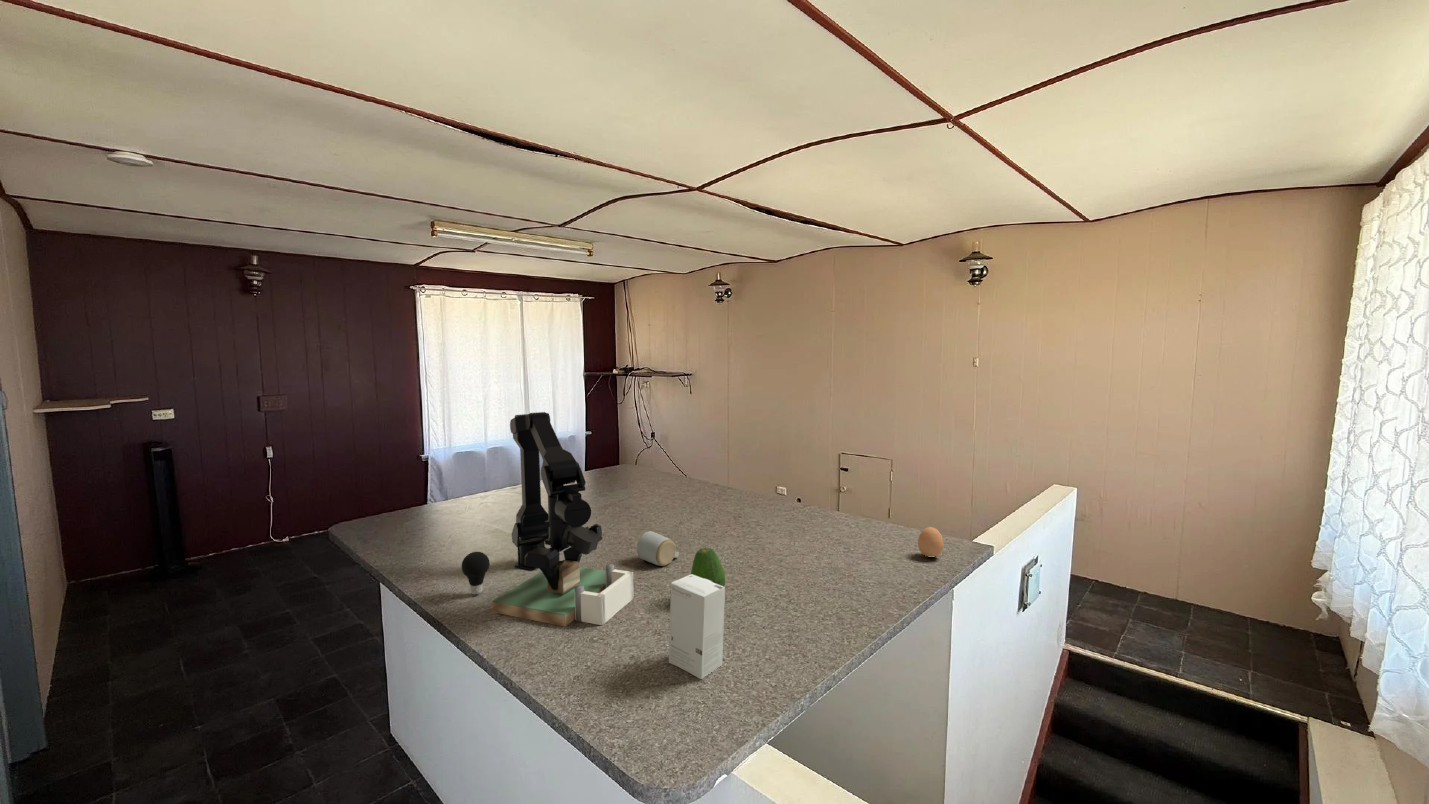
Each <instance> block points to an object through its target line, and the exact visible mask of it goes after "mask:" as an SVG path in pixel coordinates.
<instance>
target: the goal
mask: <svg viewBox="0 0 1429 804" xmlns="http://www.w3.org/2000/svg"><path fill="white" fill-rule="evenodd" d="M605 571H606V589H605V590H603V591H602V592H601V593H600V594H599V593H594V592H588V591H584V586H583V585H577V586H575V592H574V593H575V620H574V621H576V622H578V623H579V622H582V623H589V624H593V625H600V626H604V624H606V623H607V622H608V621H609V620H610V619H612V618H613V617H614V616H615V615H616V614H617V613H618V612H620V611H621V610H622V609H623V608H624V607H626V605H628V604H629V602H630V603H631V601H632V600H633V599H634V595H635V594H634V591H635V590H634V585H635V584H634V572H633V571H629V570H623V569H616V568H615V564H614V563H609V564H606V565H605Z"/></svg>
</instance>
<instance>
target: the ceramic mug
mask: <svg viewBox="0 0 1429 804" xmlns="http://www.w3.org/2000/svg"><path fill="white" fill-rule="evenodd" d="M636 554H637V556H638V557H639V559H640V560H643V561H645V562H648V563H650V564H654V565H655V566H659V567H665V566H669V564H670V563H671V562H672V561H673V559H674V558H675V559H678V558H679V555H680V551H677V550H676V544H675V543H674V541H673V540H671V539H670V538H669V537H666V536H664V535H661V534H659V533H656V532H654V531H652V530H651V531H646V532H644V533H643V534H641V536H640V538H639V539H638V541H637V545H636Z"/></svg>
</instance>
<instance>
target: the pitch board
mask: <svg viewBox="0 0 1429 804" xmlns="http://www.w3.org/2000/svg"><path fill="white" fill-rule="evenodd" d="M579 569H580V581H579V584H577V585H583V586H584V591H588V592H594V593H601V592H602V591H603V590H605V589H606V570H601V569H594V568H588V567H582V566H579ZM577 585H576V586H577ZM574 592H575V587H573V588H572V589H570V590H569V591H567V592H566V593H564V594H559V593H553V592H548V583H547V579H546V577H545V576H544V574H543V573H542V571H540V572H539V573H537V574H535V575H533V576H532V577H531V578H529V579H527V580H525V581H524V582H522V583H519V584H518V585H516V586H515V587H513V588H511V589H509V590H508V591H506V592H505V593H503V594H502V595H500V596H498V597H496V598H495V599H493V600H491V605H492V613H496V614H499V615H501V614H502V615H505V616H511V617H515V618H521V619H525V620H526V619H527V620H531V621H536V622H540V623H541V622H542V623H545V624H551V625H555V626H561V627H567V626H569V625H570V624H571V623H572V622H574V621H576V620H575V593H574Z"/></svg>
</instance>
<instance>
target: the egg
mask: <svg viewBox="0 0 1429 804" xmlns="http://www.w3.org/2000/svg"><path fill="white" fill-rule="evenodd" d="M944 543H945V542H944V538H943V536H942V534H941V533H940V531H939V530H938V529H937V528H936V527H932V526H928V527H926V528H923V530H922V531H921V532H920V533H919V535H918V538H917V547H918V549H919V551H920V553H921V554H922V555H923V556H924V555H925V556H924V557H926V556H937V557H938V556H940V555H941V554H942V552H943V551H944V546H945V544H944Z"/></svg>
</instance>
